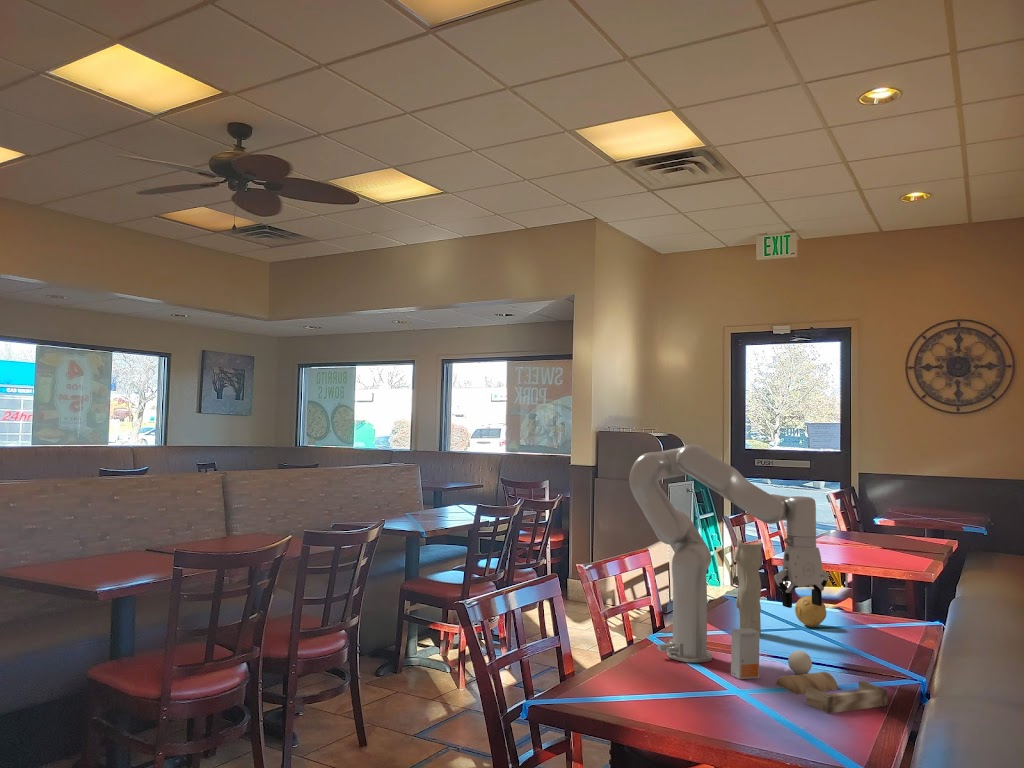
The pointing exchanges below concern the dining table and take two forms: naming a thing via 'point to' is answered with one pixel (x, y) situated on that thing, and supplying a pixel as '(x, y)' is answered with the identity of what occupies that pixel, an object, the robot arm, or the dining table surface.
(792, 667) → the ball
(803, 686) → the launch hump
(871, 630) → the dining table surface
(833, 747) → the dining table surface
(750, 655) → the skincare box
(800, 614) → the stress ball
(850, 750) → the dining table surface
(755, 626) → the vase
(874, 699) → the rail
